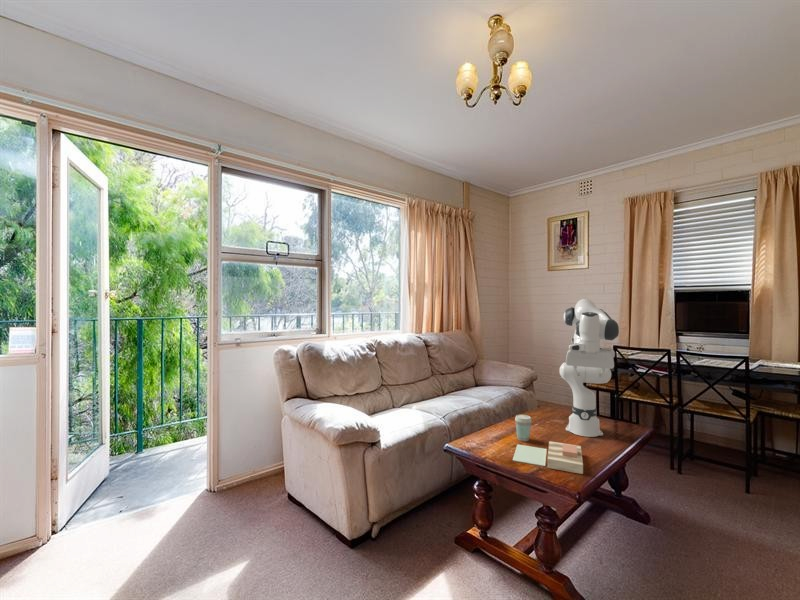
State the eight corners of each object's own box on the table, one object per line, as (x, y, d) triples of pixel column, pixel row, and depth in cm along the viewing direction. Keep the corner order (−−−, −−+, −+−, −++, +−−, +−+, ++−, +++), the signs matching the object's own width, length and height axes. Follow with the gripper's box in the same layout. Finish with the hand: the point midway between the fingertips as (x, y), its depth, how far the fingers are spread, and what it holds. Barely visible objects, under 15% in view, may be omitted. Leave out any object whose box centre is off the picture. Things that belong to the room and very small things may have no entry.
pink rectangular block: (562, 448, 175) (562, 443, 175) (576, 450, 172) (576, 446, 172) (562, 455, 166) (562, 451, 166) (577, 457, 164) (577, 453, 164)
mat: (517, 444, 188) (517, 444, 188) (546, 449, 182) (546, 449, 182) (512, 460, 170) (512, 459, 170) (545, 466, 164) (545, 465, 164)
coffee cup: (530, 443, 190) (530, 420, 190) (513, 440, 194) (513, 417, 194) (533, 438, 197) (533, 415, 197) (516, 435, 201) (516, 413, 201)
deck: (549, 449, 183) (549, 441, 183) (580, 454, 177) (580, 445, 177) (547, 467, 163) (547, 458, 163) (582, 474, 157) (583, 464, 157)
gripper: (613, 347, 172) (613, 377, 172) (565, 345, 180) (565, 373, 180) (615, 349, 166) (615, 380, 166) (565, 346, 175) (565, 375, 174)
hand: (589, 376), depth 173 cm, fingers open, 8 cm apart
